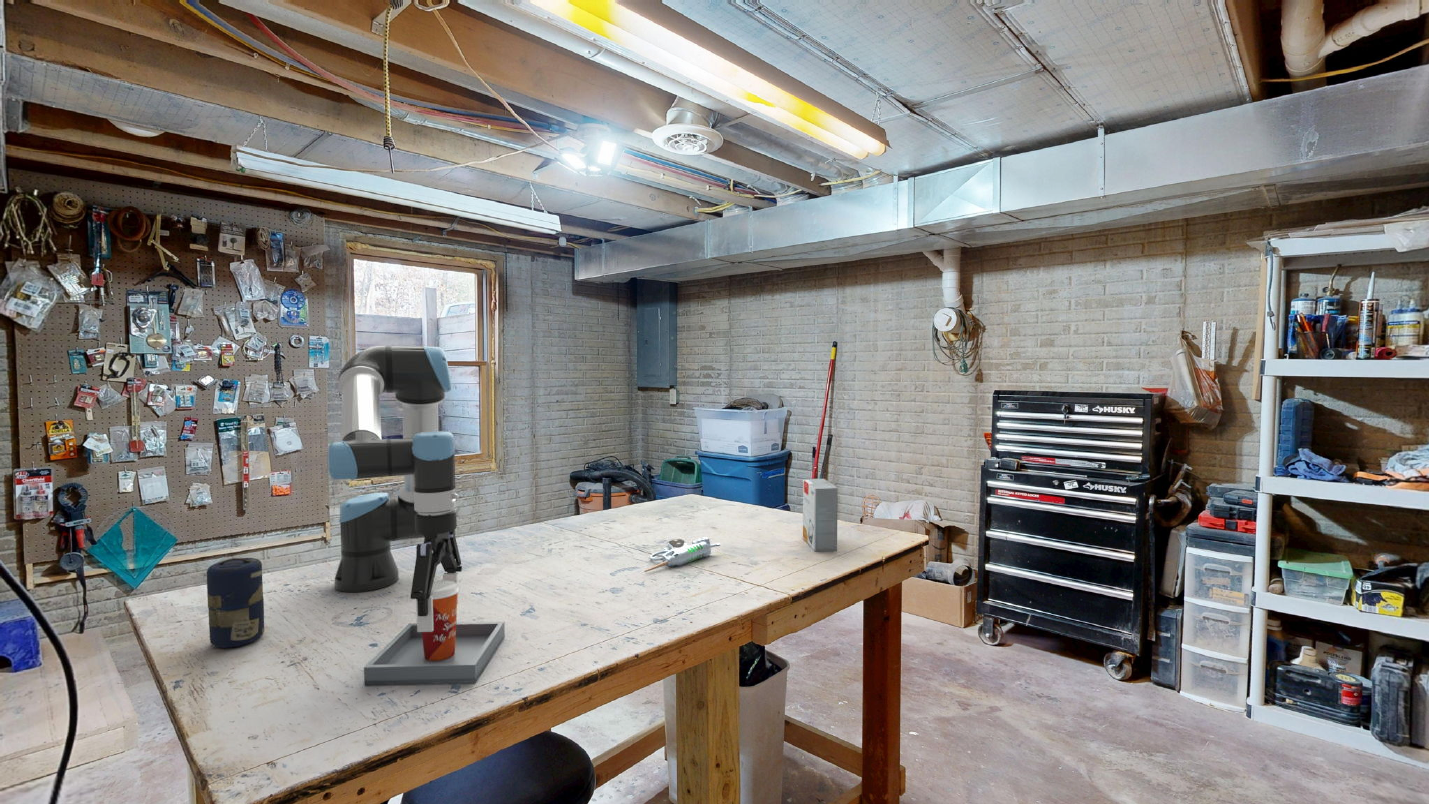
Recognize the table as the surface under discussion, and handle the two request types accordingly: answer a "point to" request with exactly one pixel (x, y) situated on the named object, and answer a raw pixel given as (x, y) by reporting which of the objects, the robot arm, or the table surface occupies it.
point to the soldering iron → (682, 552)
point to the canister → (235, 602)
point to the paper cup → (442, 622)
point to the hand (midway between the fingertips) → (438, 617)
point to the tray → (410, 667)
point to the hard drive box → (820, 514)
